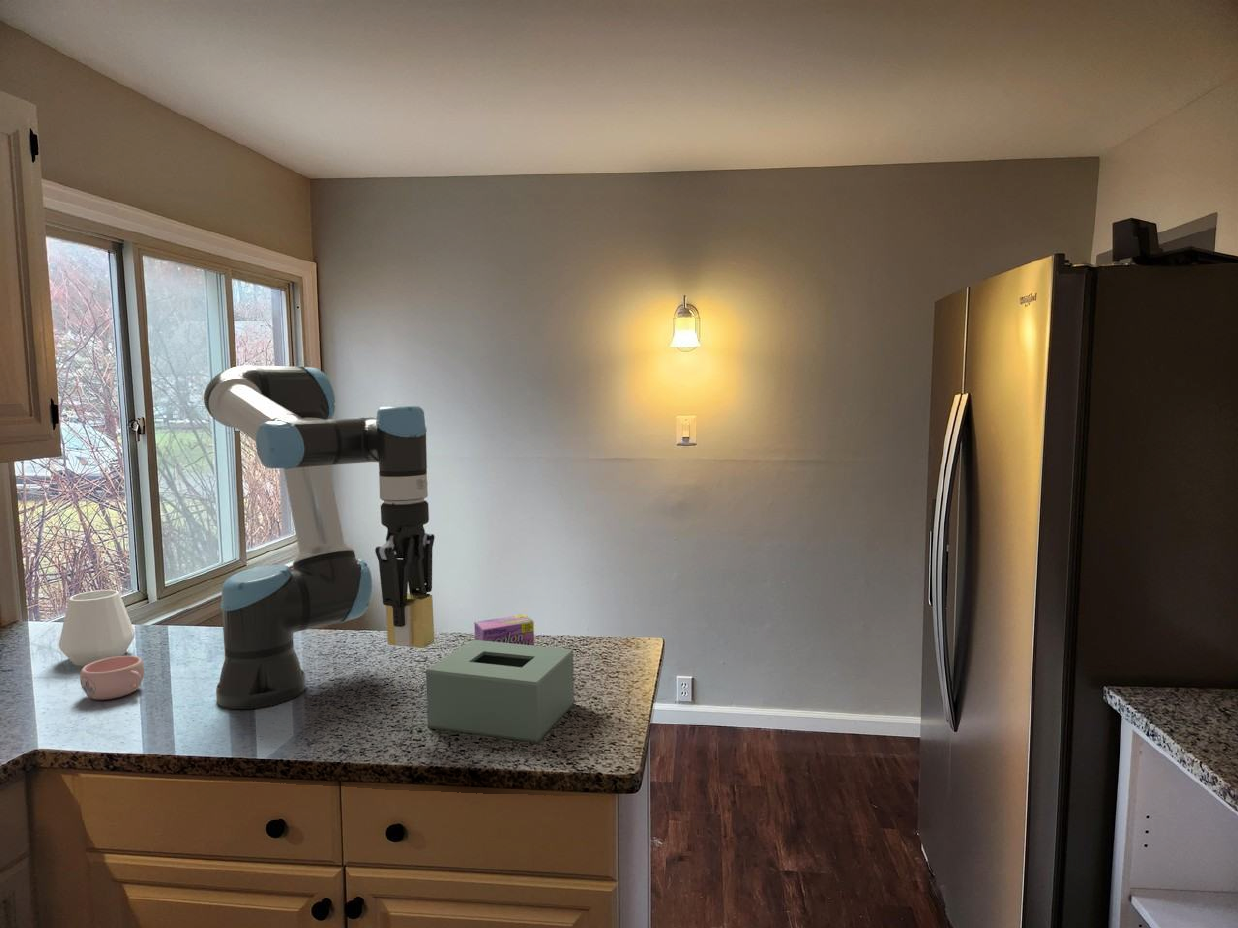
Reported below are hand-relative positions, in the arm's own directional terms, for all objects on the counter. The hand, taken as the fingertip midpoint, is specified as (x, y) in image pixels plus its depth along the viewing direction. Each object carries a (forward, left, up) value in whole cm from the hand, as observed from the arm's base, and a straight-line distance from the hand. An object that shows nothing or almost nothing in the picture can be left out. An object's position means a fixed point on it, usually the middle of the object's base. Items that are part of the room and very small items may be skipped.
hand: (410, 640), depth 124 cm
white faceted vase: (-84, +10, -15) cm, 86 cm away
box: (+6, +23, -15) cm, 28 cm away
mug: (-61, -4, -15) cm, 63 cm away
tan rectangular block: (0, 0, 0) cm, 0 cm away
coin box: (+13, +8, -15) cm, 21 cm away
